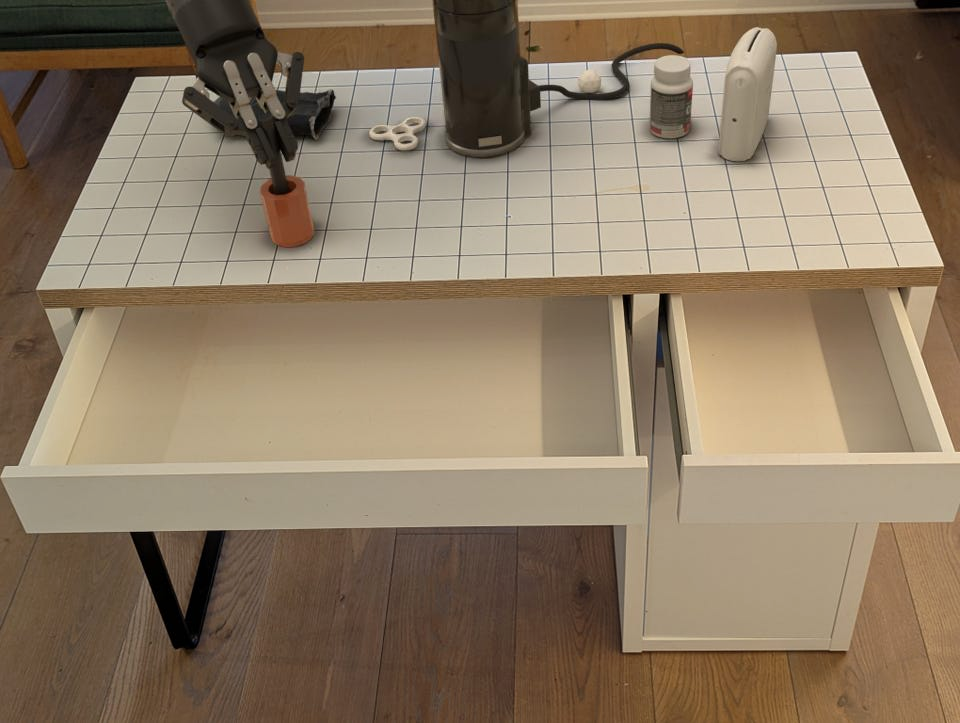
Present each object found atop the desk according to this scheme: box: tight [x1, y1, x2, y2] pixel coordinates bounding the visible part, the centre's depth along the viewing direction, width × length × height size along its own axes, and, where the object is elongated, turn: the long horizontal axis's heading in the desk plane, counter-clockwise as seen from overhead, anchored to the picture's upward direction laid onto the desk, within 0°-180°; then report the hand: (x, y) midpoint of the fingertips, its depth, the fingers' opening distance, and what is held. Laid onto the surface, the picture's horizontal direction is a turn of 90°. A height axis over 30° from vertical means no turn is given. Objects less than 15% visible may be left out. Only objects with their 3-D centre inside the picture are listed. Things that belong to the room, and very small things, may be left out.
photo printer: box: [718, 26, 778, 162], centre depth 119 cm, size 10×4×12 cm, turn 157°
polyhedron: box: [577, 69, 602, 94], centre depth 133 cm, size 3×3×3 cm
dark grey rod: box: [258, 113, 290, 195], centre depth 110 cm, size 2×2×12 cm
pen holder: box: [259, 174, 315, 248], centre depth 113 cm, size 5×5×6 cm
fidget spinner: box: [368, 116, 427, 151], centre depth 128 cm, size 7×6×1 cm
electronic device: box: [213, 88, 337, 141], centre depth 133 cm, size 9×6×15 cm
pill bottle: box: [648, 54, 694, 139], centre depth 123 cm, size 5×5×8 cm
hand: (282, 161), depth 107 cm, fingers closed on dark grey rod, 1 cm apart
